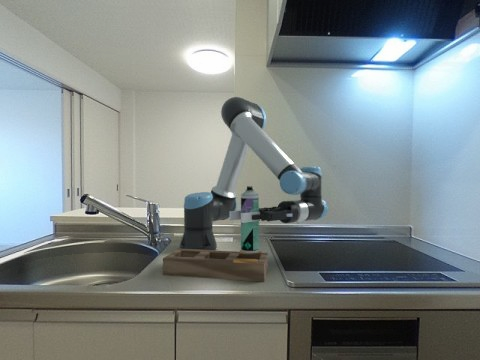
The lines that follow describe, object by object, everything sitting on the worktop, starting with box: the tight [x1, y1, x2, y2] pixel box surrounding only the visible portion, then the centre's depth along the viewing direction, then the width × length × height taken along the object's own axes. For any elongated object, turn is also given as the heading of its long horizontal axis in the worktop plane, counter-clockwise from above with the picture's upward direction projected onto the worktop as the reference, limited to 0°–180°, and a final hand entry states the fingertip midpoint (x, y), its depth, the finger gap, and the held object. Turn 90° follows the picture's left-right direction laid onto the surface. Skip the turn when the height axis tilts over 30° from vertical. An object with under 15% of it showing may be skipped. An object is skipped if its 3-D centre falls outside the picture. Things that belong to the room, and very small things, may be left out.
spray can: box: [240, 185, 260, 253], centre depth 85 cm, size 6×6×20 cm
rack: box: [162, 248, 269, 283], centre depth 87 cm, size 12×31×6 cm, turn 79°
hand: (235, 216), depth 82 cm, fingers closed on spray can, 5 cm apart
